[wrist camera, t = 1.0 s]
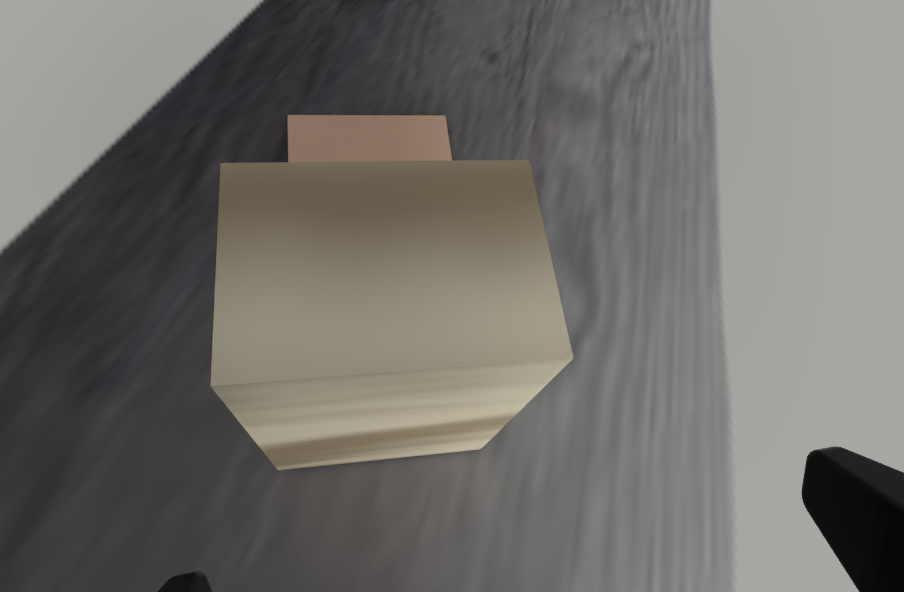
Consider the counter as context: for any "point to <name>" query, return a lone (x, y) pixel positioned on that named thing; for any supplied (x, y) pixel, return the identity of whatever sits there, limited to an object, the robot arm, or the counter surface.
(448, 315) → the birch block
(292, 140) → the pad
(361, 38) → the counter surface
